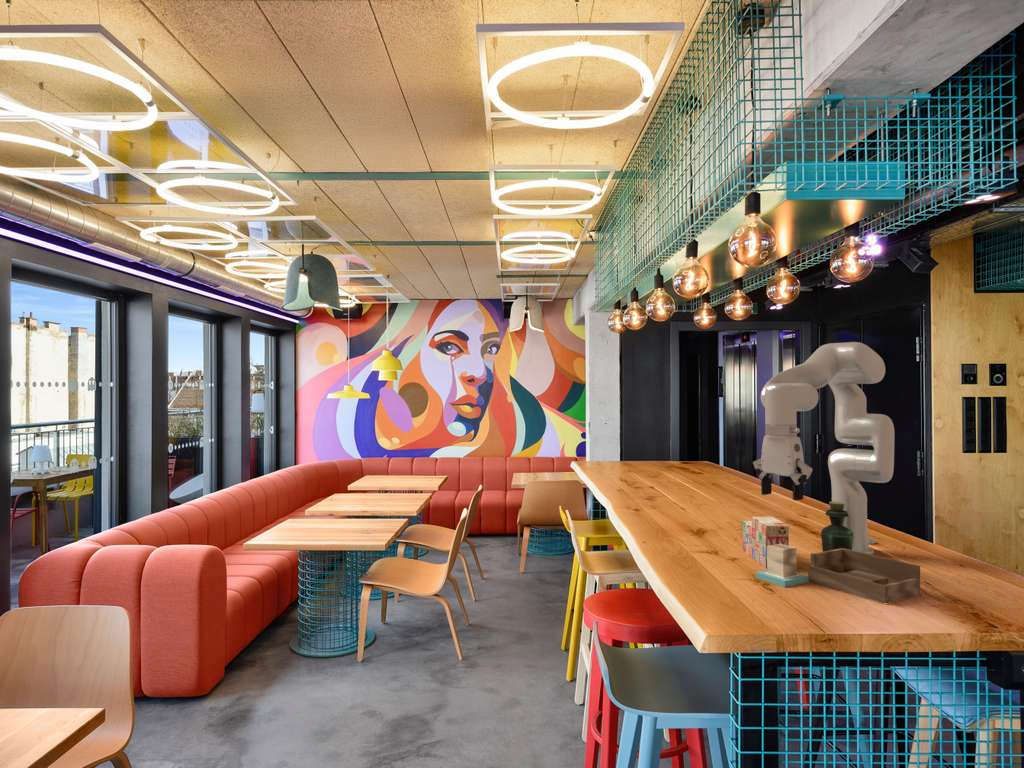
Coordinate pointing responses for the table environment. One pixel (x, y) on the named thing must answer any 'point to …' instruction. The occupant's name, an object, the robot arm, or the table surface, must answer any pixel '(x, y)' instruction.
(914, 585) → the brown wooden tray
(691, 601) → the table surface
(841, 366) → the robot arm
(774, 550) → the beech block
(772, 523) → the stack of blocks
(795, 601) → the table surface
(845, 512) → the potion bottle
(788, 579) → the teal picture frame
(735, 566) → the table surface
